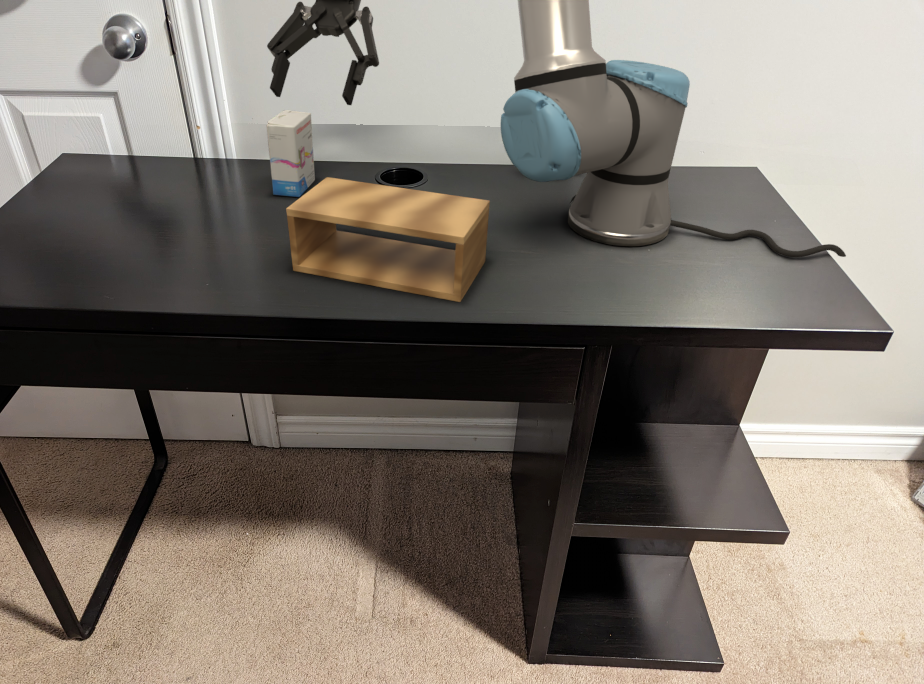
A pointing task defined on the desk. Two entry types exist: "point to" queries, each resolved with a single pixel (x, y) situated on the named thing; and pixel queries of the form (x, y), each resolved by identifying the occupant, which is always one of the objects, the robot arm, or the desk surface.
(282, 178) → the ink box
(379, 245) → the oak stand
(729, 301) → the desk surface
